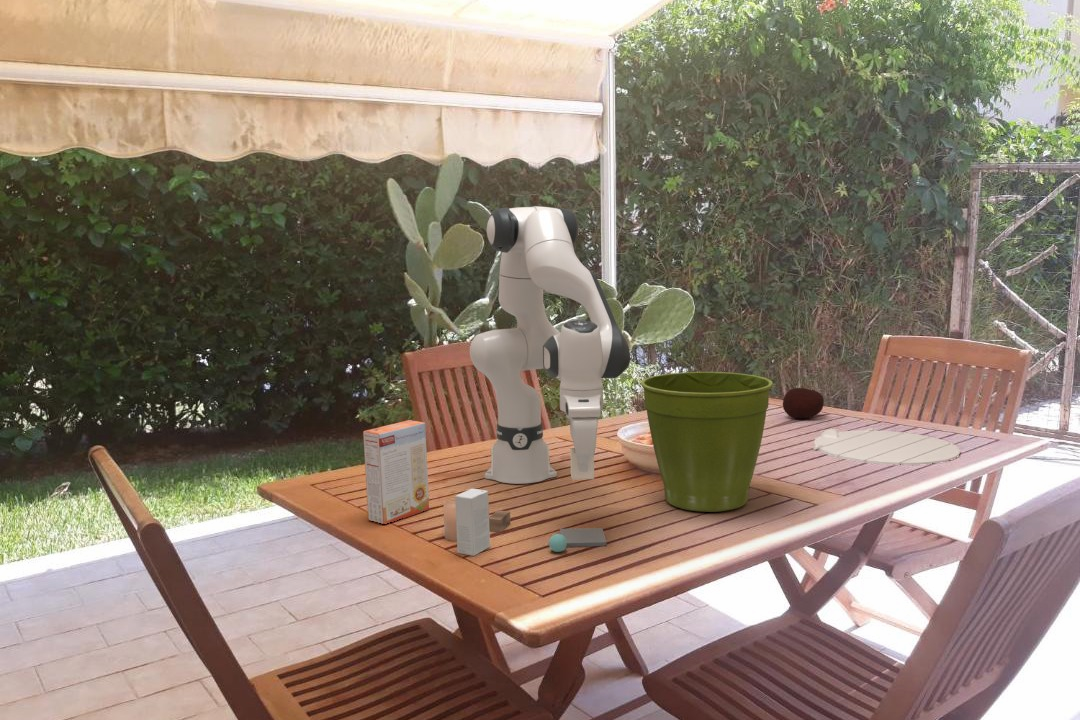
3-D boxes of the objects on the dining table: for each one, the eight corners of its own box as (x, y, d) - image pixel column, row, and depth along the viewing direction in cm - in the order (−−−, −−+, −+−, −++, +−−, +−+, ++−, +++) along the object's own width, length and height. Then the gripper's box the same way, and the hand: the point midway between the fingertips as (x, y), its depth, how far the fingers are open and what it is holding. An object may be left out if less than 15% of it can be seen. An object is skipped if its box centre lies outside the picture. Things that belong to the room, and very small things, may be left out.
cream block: (570, 473, 193) (570, 447, 192) (592, 473, 193) (592, 447, 192) (572, 479, 188) (571, 453, 187) (594, 478, 188) (593, 452, 188)
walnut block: (497, 523, 204) (497, 510, 204) (510, 524, 203) (510, 511, 203) (487, 532, 199) (487, 518, 198) (501, 533, 198) (500, 519, 197)
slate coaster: (560, 532, 197) (560, 528, 197) (602, 531, 197) (602, 527, 197) (562, 547, 188) (562, 543, 188) (606, 545, 188) (606, 542, 188)
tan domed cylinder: (445, 531, 199) (444, 499, 198) (478, 530, 199) (477, 498, 198) (443, 542, 192) (442, 509, 191) (477, 541, 192) (476, 508, 191)
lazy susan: (784, 449, 267) (785, 437, 267) (854, 428, 293) (854, 417, 293) (919, 475, 238) (920, 462, 238) (983, 448, 264) (984, 437, 264)
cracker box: (412, 505, 217) (409, 418, 214) (430, 510, 214) (427, 421, 211) (366, 521, 207) (361, 429, 204) (384, 526, 203) (380, 433, 200)
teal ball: (548, 548, 187) (548, 531, 187) (566, 548, 187) (566, 531, 187) (549, 554, 184) (549, 537, 183) (567, 554, 184) (567, 537, 183)
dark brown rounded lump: (826, 422, 300) (827, 391, 299) (784, 422, 302) (785, 390, 300) (819, 415, 311) (820, 385, 310) (779, 415, 313) (780, 385, 311)
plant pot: (776, 489, 226) (778, 373, 222) (762, 527, 198) (764, 395, 194) (656, 480, 236) (656, 369, 232) (627, 514, 208) (626, 389, 204)
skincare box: (473, 544, 191) (471, 487, 189) (490, 547, 188) (489, 490, 187) (456, 553, 185) (454, 495, 184) (473, 556, 183) (471, 498, 182)
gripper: (563, 392, 198) (564, 455, 200) (568, 411, 178) (569, 480, 180) (592, 391, 199) (593, 454, 201) (601, 410, 178) (602, 479, 180)
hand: (582, 467), depth 190 cm, fingers closed on cream block, 4 cm apart
